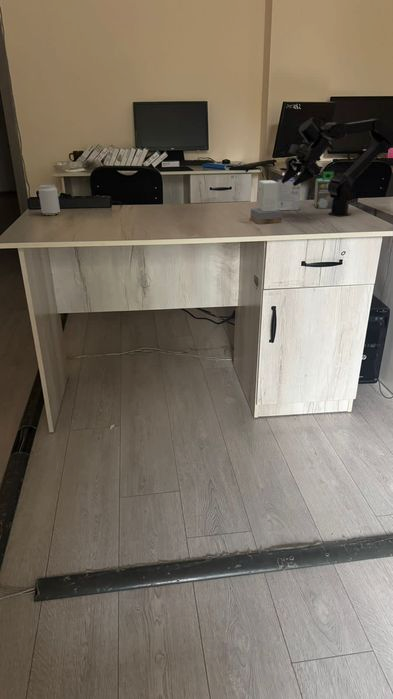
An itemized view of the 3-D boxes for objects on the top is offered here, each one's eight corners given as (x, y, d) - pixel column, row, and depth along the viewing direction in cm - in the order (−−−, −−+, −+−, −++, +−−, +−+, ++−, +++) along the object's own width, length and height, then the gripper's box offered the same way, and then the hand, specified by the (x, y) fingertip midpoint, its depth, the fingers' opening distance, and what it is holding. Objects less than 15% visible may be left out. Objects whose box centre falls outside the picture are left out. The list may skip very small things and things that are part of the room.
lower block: (271, 219, 203) (271, 213, 202) (281, 224, 195) (281, 217, 194) (250, 221, 200) (250, 215, 199) (259, 226, 193) (259, 219, 192)
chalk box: (334, 205, 227) (337, 170, 220) (337, 208, 219) (341, 172, 212) (313, 204, 228) (316, 170, 221) (315, 208, 220) (318, 172, 213)
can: (57, 216, 212) (53, 186, 207) (39, 216, 212) (35, 186, 207) (62, 212, 219) (58, 183, 214) (45, 213, 219) (40, 184, 214)
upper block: (271, 213, 201) (272, 207, 200) (281, 218, 193) (281, 211, 192) (250, 215, 199) (250, 208, 198) (259, 219, 191) (259, 212, 190)
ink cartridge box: (298, 208, 221) (300, 173, 215) (299, 210, 216) (302, 174, 210) (275, 208, 222) (277, 173, 215) (276, 210, 217) (278, 175, 210)
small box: (276, 211, 193) (278, 182, 188) (262, 211, 192) (263, 183, 187) (271, 207, 200) (272, 179, 195) (257, 208, 199) (258, 180, 194)
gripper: (290, 135, 196) (264, 167, 197) (315, 136, 180) (286, 171, 181) (307, 155, 201) (281, 186, 203) (333, 158, 185) (304, 192, 187)
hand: (287, 183), depth 193 cm, fingers open, 9 cm apart
